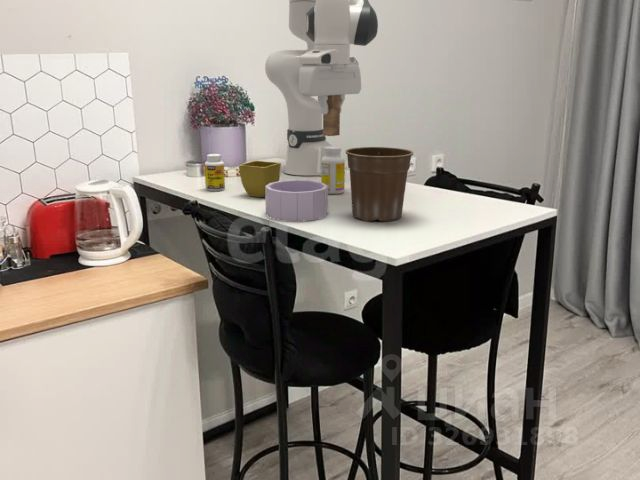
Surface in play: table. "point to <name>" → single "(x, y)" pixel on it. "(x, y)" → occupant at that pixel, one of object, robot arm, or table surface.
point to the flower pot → (258, 176)
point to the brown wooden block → (332, 117)
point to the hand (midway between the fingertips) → (331, 113)
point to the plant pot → (378, 181)
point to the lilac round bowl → (296, 200)
